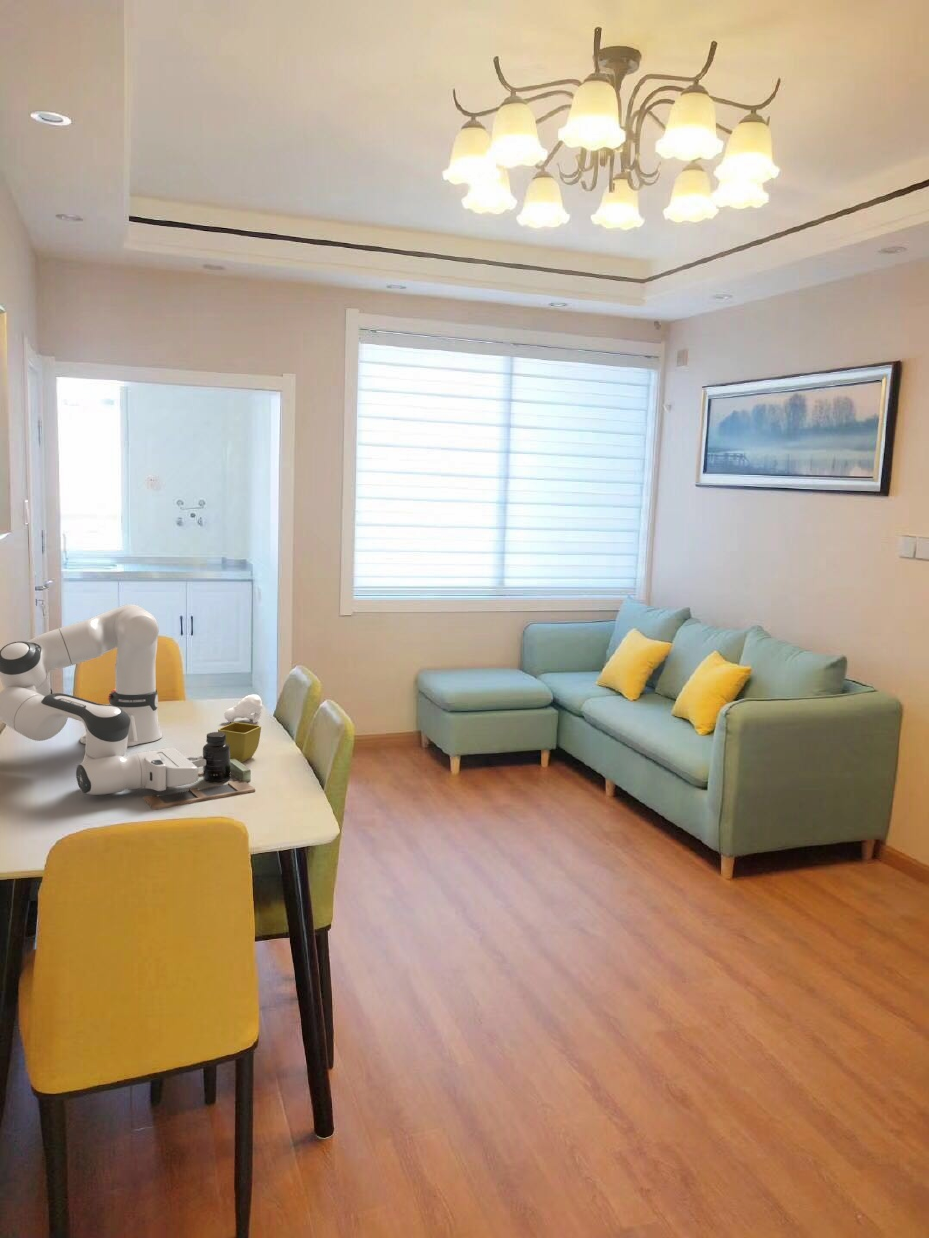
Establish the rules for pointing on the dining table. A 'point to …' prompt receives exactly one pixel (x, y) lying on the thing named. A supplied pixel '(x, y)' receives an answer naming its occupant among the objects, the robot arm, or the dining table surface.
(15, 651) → the robot arm
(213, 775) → the supplement bottle
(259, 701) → the white lumpy piece
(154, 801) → the board
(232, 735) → the flower pot
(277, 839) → the dining table surface
